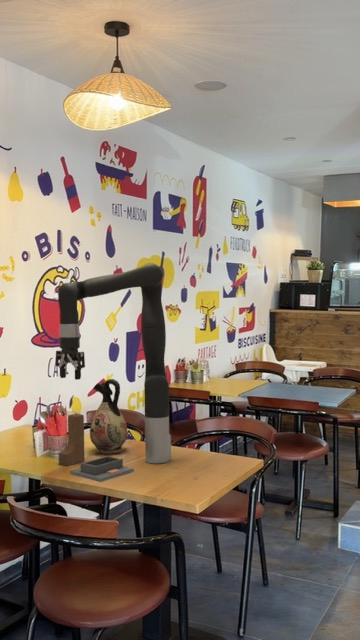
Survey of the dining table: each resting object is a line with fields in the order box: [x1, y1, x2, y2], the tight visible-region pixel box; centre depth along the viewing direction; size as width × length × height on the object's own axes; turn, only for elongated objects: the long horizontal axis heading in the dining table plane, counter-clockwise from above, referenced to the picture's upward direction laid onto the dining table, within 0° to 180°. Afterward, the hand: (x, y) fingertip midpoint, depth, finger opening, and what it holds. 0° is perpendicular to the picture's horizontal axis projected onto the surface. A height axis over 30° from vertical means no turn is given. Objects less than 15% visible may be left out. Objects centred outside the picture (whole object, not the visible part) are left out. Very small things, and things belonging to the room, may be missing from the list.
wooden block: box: [58, 413, 85, 466], centre depth 235 cm, size 9×4×18 cm, turn 137°
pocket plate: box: [69, 455, 135, 482], centre depth 221 cm, size 16×16×4 cm
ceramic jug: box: [89, 378, 129, 454], centre depth 251 cm, size 17×15×30 cm
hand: (70, 378), depth 234 cm, fingers open, 8 cm apart
